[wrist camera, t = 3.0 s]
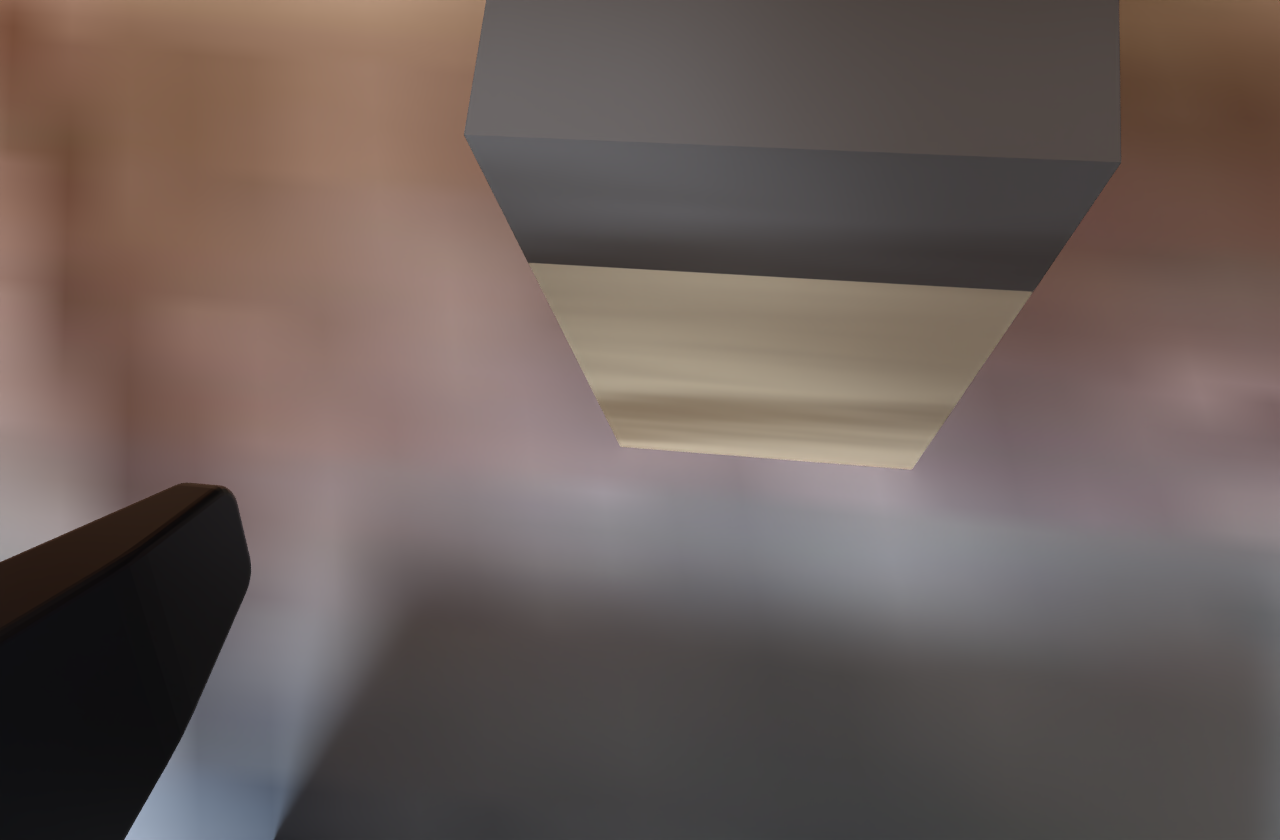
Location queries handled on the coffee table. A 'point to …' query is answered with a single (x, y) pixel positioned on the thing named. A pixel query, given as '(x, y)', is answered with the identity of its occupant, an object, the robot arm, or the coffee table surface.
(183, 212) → the coffee table surface
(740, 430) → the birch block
